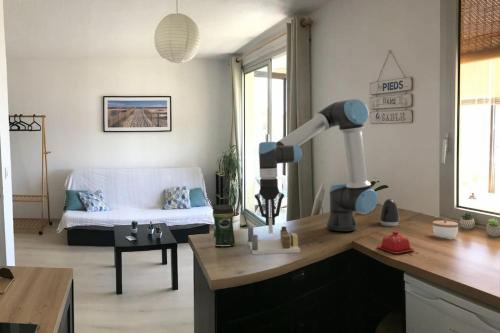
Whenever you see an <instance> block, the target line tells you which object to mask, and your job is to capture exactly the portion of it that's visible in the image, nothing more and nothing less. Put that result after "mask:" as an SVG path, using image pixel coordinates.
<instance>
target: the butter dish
mask: <svg viewBox="0 0 500 333" xmlns="http://www.w3.org/2000/svg"><path fill="white" fill-rule="evenodd" d="M376 247H377V248H378V249H381V250H383V251H387V252H389V253H391V254H403V253H407V252H412V251H415V248H412V247H411V245H410V240H409V238H408V237H406V236H405V235H401V234H399V231H398V230H393V231H392V234H388V235H386V236H384V237H382V242H381V244H380V245H377V246H376Z"/></svg>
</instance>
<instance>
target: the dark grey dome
mask: <svg viewBox="0 0 500 333" xmlns="http://www.w3.org/2000/svg"><path fill="white" fill-rule="evenodd" d="M399 213H400V212H399V208H398V206H397V203H396V202H395V200H393V199H392V198H387V199H386V200H385V201H384V202H383V203H382V206H381V208H380V213H379V222H380V225H381V226H382V225H383V226H386V227H396V226H398V225H399V223H400V221H401V220H400V219H401V218H400V214H399Z"/></svg>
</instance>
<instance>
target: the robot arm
mask: <svg viewBox="0 0 500 333" xmlns="http://www.w3.org/2000/svg"><path fill="white" fill-rule="evenodd" d="M369 114H370V113H369V108H368V106H367V104H366V103H365V102H363V100H360V99H357V98H356V99H347V100H341V101H335V102H333V103H331V104H329V105H327V106H326V107H324V108H323V109H321V110H319V111H318V112H317V113H315V114H314V117H312V118H311V119H310V120H308V121H307V122H305V123H304V124H302V125H301V126H299V127H298V128H296V129H294V130H293V131H292V132H290V133H288V134H287V135H286V136H284V137H283V138H281V139H279V140H277V141H264V142H263V141H262V142H259V144H258V162H259V178H260V179H259V185H260V186H259V191H258V193H256V194H254V198H255V200H256V201H257V205H258V208H259V212H260V214H261V217H262V218H265V225H266V226H268V234H274V233H273V230H274V229H273V226H275V224H276V222H275V221H276V220H275V219H276V217H279V216H280V212H281V208H282V201H283V199H284V197H285V194H284V193H282V192H280V190H279V187H278V186H279V184H278V164H289V163H290V164H291V163H293V164H294V163H298V162H300V161H301V159H302V157H303V151H302V148H301V147H300V146H301V145H303V144H304V143H306V142H307V141H309V140H310V139H312V138H313V137H314V136H315V137H316V136H317V135H318V134H320V132H323V131H328V130H329V129H332V128H334V127H338V128H339V132H341V133H342V135H343V142H344V151H345V160H346V161H345V162H346V169H347V178H348V183H340V184H331V186H330V187H329V215H328V218H327V220H326V221H327V222H326V229H328V230H331V231H335V232H350V231H351V232H352V231H355V230H357V226H358V225H357V224H358V223H357V221H356V218H355V216H354V212H357V213H360V214H368V213H371V212H372V211H373V210H375V208H376V206H377V204H378V199H379V196H378V193H377V192H376V191H375V190H374V189H372V183H371V182H370V181H369V180H368V174H367V166H366V156H365V149H364V140H363V130H364V129H365V127H366V126H365V123H366V122H367V121H368V119H369ZM277 196H278V201H277V205H276V210H275V199H276V198H277ZM261 197H262V199H263V200H264V209H265V210H264V209H263V205H262V202H261ZM269 200H270V207H271V208H270V212H271V214H269ZM264 211H265V213H264ZM270 215H271V216H270Z"/></svg>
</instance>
